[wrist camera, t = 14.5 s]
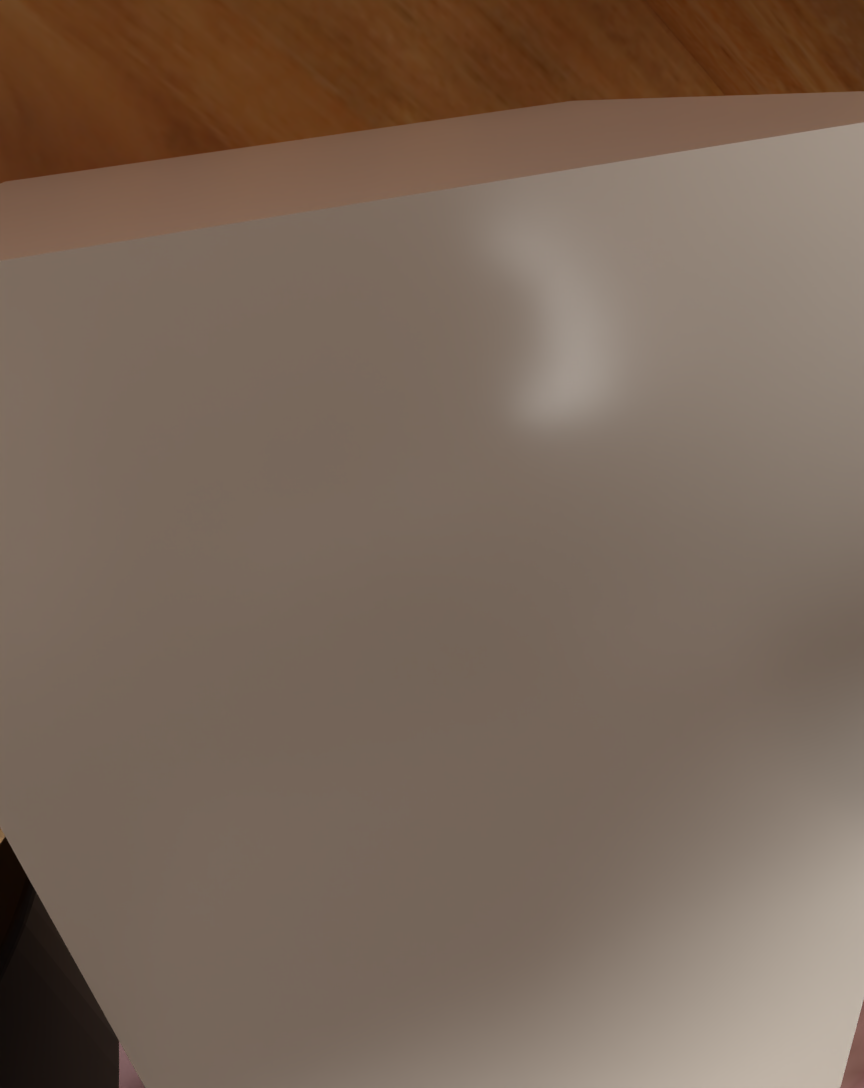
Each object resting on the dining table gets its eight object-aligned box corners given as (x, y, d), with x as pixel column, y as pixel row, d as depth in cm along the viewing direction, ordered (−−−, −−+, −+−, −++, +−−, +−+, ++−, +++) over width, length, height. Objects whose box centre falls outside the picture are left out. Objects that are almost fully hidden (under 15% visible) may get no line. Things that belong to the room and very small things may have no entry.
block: (5, 181, 6) (-288, 307, 2) (573, 101, 7) (1106, 82, 3) (268, 941, 11) (331, 1421, 7) (589, 833, 12) (809, 1205, 8)
